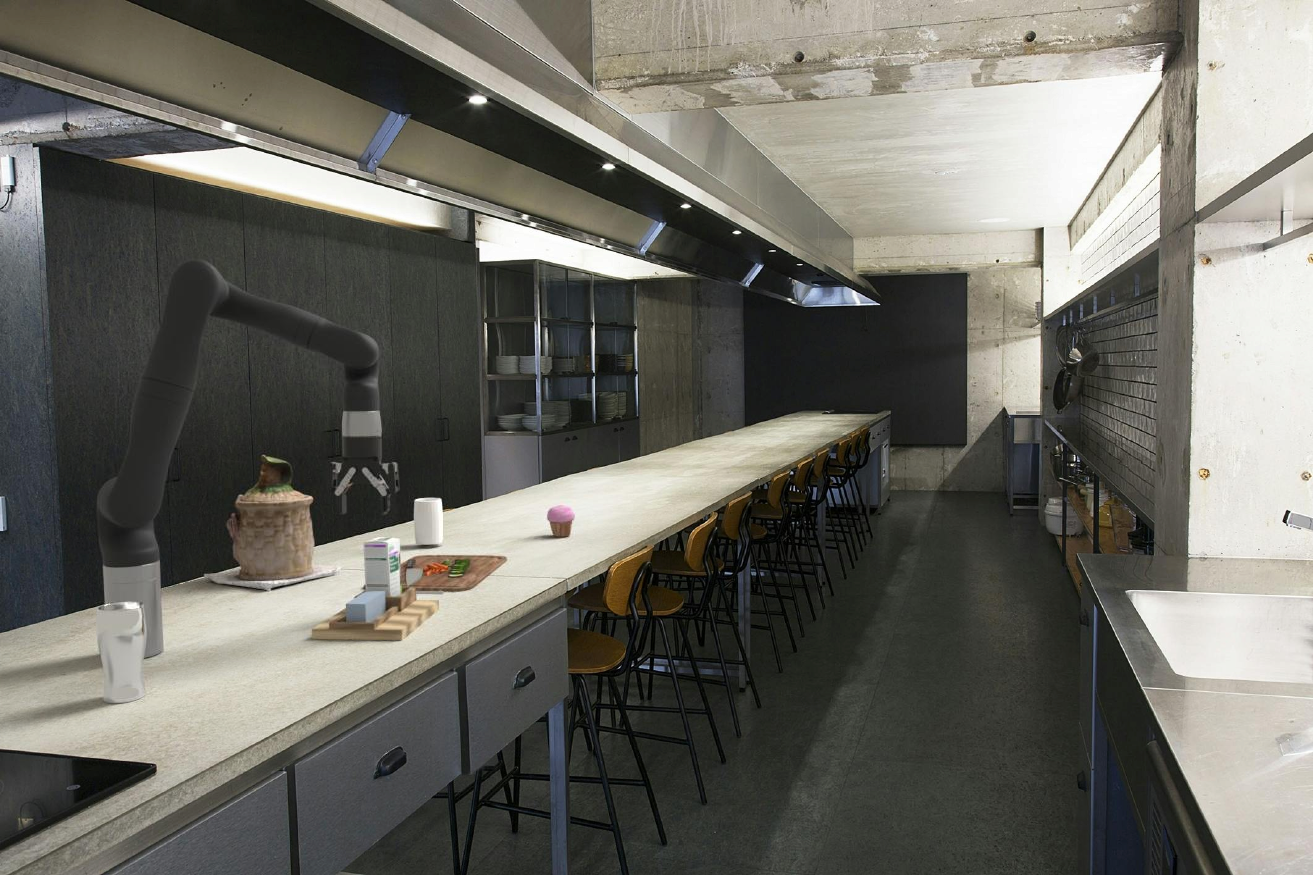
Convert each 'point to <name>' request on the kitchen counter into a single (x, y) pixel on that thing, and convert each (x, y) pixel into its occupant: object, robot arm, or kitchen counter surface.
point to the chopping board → (447, 572)
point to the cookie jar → (272, 533)
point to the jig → (381, 620)
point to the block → (366, 607)
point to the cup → (428, 521)
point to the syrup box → (383, 565)
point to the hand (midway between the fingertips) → (363, 513)
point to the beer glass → (122, 649)
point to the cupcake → (560, 520)
